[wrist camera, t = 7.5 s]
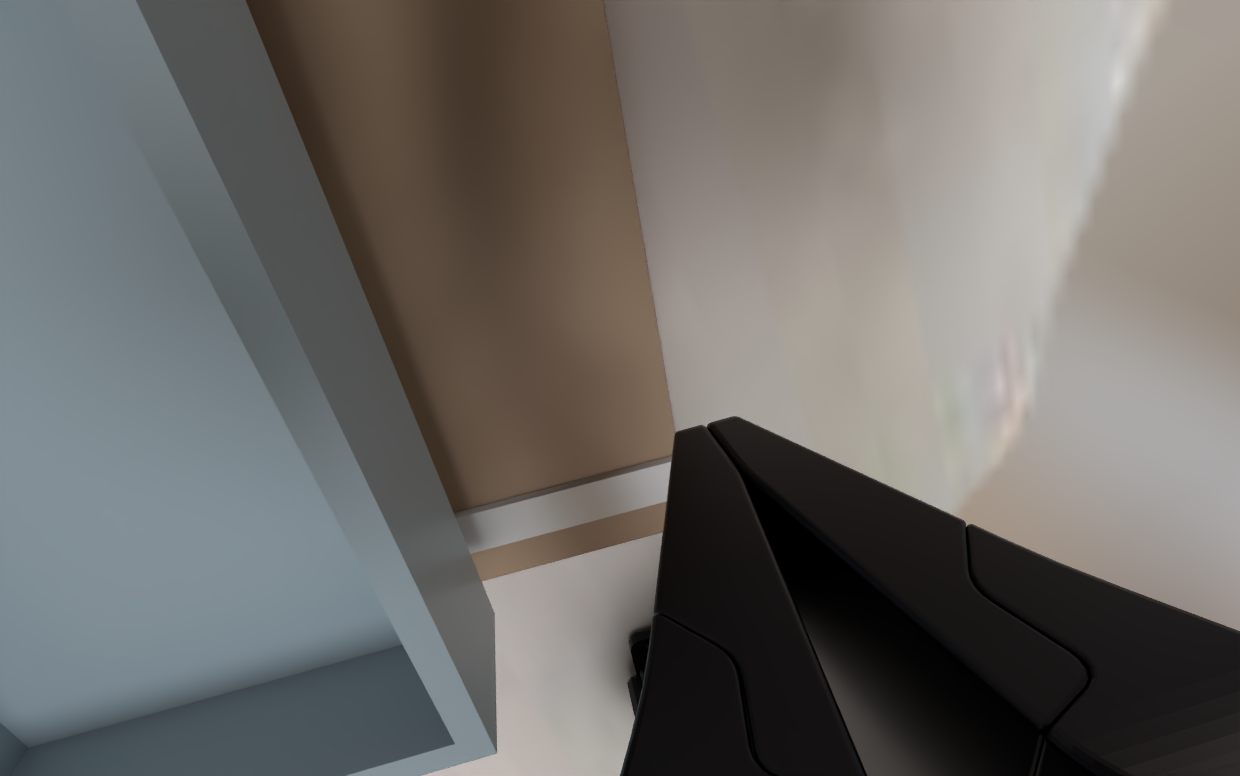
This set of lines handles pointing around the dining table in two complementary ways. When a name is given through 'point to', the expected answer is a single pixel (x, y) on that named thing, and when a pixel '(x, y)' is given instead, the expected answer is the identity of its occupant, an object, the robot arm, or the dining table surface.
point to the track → (494, 253)
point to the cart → (205, 432)
